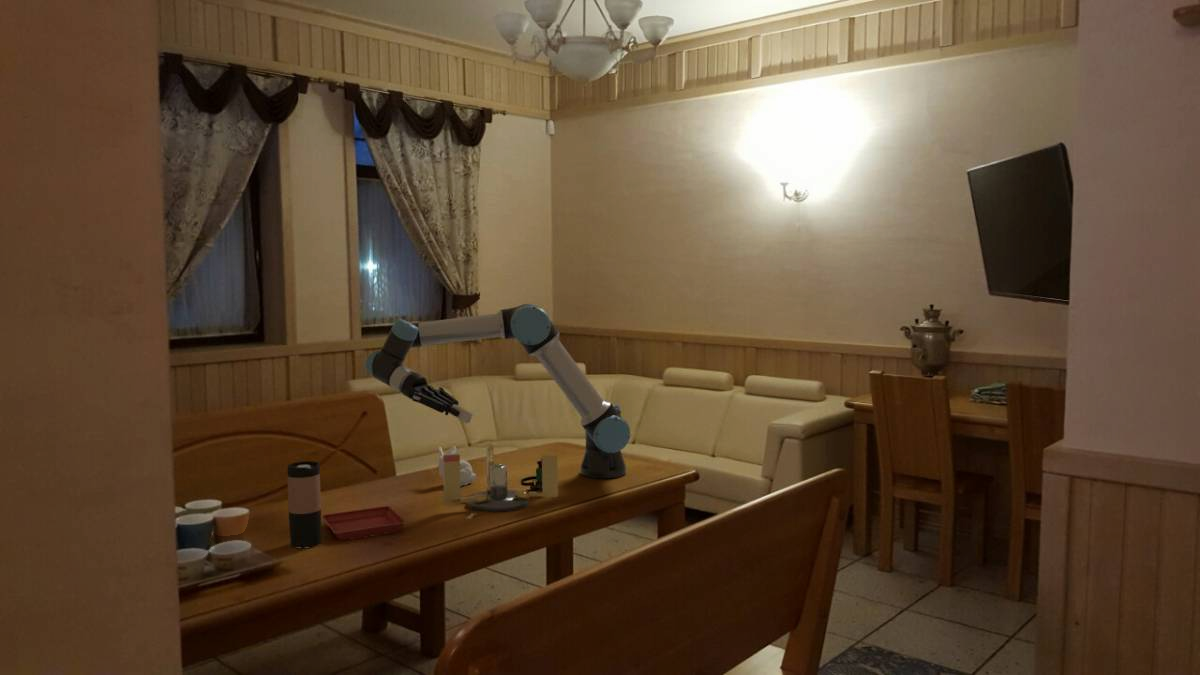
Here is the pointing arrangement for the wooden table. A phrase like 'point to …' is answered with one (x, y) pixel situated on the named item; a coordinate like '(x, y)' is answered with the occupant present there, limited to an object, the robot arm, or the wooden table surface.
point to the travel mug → (304, 504)
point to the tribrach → (514, 499)
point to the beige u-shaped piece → (456, 482)
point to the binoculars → (538, 477)
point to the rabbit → (465, 468)
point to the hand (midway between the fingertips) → (469, 418)
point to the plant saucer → (364, 522)
